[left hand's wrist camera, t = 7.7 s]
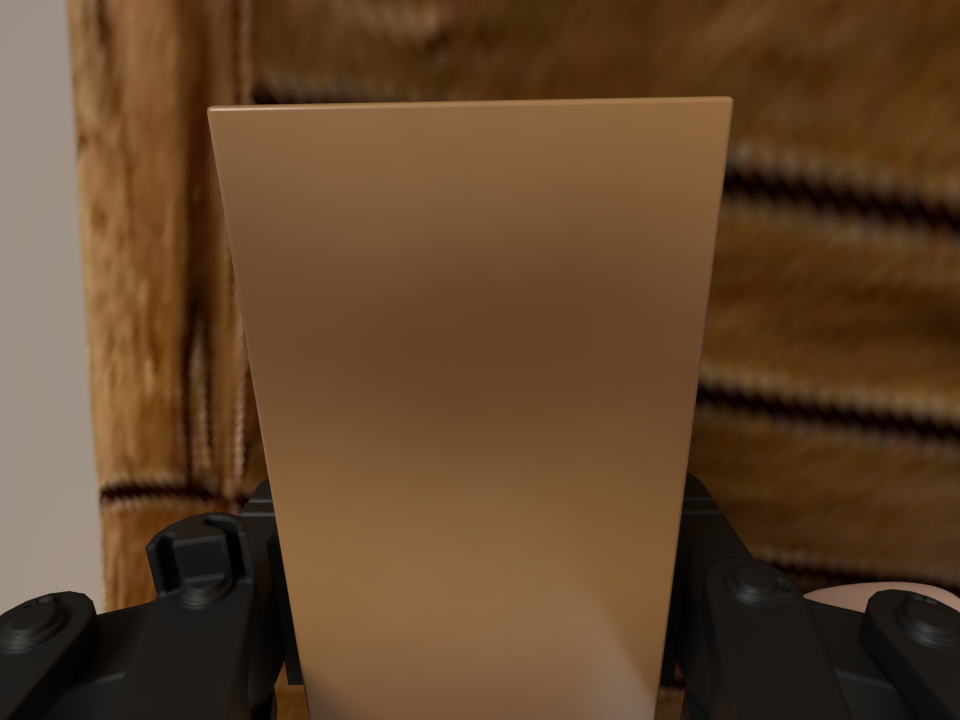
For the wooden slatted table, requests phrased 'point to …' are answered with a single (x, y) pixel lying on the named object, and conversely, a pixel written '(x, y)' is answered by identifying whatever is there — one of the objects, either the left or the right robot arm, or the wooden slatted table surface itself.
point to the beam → (476, 388)
